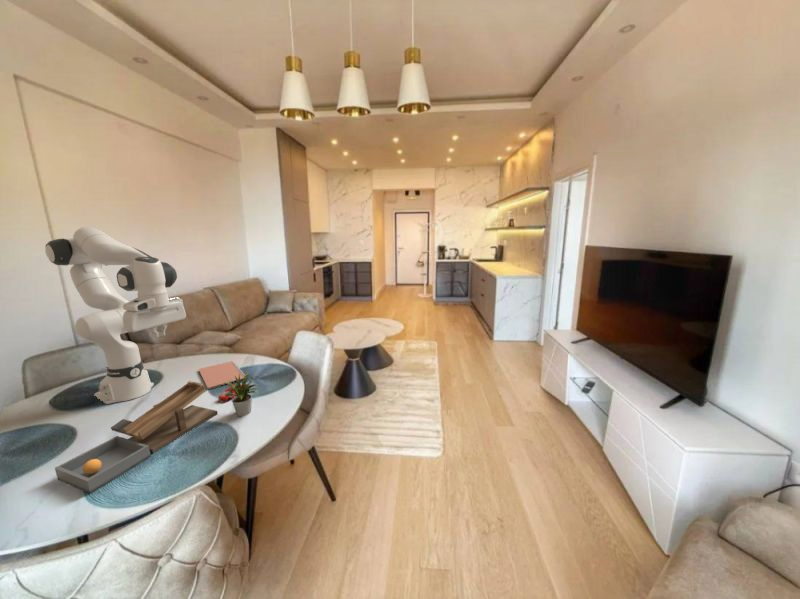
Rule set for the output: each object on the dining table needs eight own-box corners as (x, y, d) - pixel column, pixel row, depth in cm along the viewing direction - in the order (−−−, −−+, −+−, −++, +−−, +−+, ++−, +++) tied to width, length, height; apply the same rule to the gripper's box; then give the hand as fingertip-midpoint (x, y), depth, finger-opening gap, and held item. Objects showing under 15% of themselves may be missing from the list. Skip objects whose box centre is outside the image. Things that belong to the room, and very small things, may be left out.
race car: (225, 404, 133) (223, 395, 132) (215, 402, 135) (214, 393, 134) (250, 390, 145) (249, 381, 144) (241, 388, 147) (240, 380, 146)
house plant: (228, 429, 115) (222, 388, 112) (215, 415, 124) (209, 376, 121) (267, 413, 125) (262, 374, 122) (252, 401, 135) (247, 365, 131)
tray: (57, 479, 93) (54, 467, 92) (119, 446, 107) (117, 435, 106) (90, 493, 87) (87, 481, 87) (150, 456, 102) (148, 445, 101)
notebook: (247, 380, 156) (247, 376, 155) (208, 391, 145) (207, 387, 145) (234, 363, 176) (233, 360, 176) (199, 372, 166) (198, 368, 165)
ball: (81, 459, 93) (98, 456, 97) (77, 474, 92) (94, 470, 96) (90, 462, 92) (106, 459, 95) (86, 477, 91) (102, 473, 95)
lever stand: (125, 444, 108) (120, 420, 106) (192, 408, 130) (188, 388, 128) (153, 453, 103) (148, 428, 101) (217, 414, 125) (214, 393, 123)
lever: (113, 432, 108) (107, 422, 106) (178, 386, 129) (174, 378, 127) (144, 441, 103) (138, 431, 101) (207, 392, 123) (203, 383, 122)
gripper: (176, 295, 129) (181, 328, 132) (117, 306, 110) (124, 344, 113) (187, 296, 126) (192, 329, 129) (128, 307, 108) (136, 346, 111)
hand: (160, 336), depth 121 cm, fingers closed
